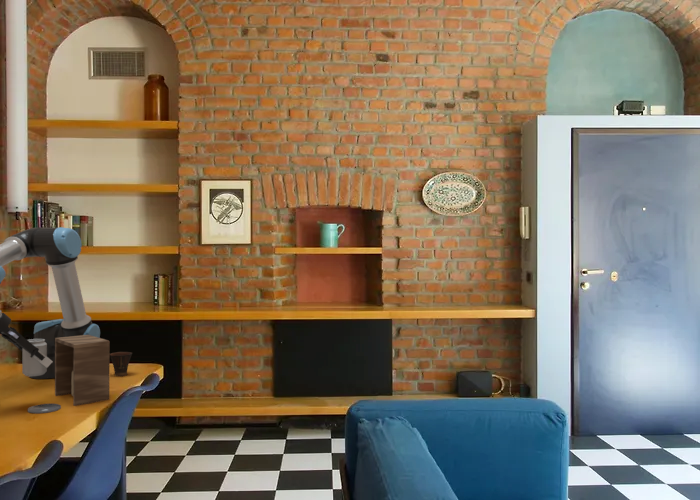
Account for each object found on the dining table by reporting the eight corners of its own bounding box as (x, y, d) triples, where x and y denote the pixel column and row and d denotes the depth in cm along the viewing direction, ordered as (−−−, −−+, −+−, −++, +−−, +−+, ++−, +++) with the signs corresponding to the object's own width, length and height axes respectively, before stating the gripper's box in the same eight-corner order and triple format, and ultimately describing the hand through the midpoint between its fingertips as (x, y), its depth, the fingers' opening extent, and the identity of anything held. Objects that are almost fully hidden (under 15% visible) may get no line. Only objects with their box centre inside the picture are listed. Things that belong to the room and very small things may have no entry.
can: (51, 373, 210) (51, 338, 210) (34, 377, 203) (34, 342, 203) (35, 371, 213) (35, 337, 213) (17, 375, 206) (17, 340, 206)
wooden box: (54, 395, 222) (55, 338, 222) (88, 390, 231) (88, 334, 231) (74, 405, 209) (74, 344, 208) (109, 399, 217) (109, 340, 217)
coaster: (23, 409, 204) (23, 407, 204) (54, 403, 211) (54, 401, 211) (33, 415, 197) (33, 413, 197) (65, 409, 204) (65, 407, 204)
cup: (101, 374, 254) (105, 351, 255) (118, 373, 262) (122, 350, 262) (116, 378, 250) (120, 353, 250) (133, 376, 257) (136, 353, 258)
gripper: (-24, 325, 204) (28, 366, 216) (-8, 332, 190) (47, 376, 201) (-7, 309, 208) (43, 350, 219) (11, 314, 193) (64, 358, 205)
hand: (45, 362), depth 210 cm, fingers closed on can, 7 cm apart
